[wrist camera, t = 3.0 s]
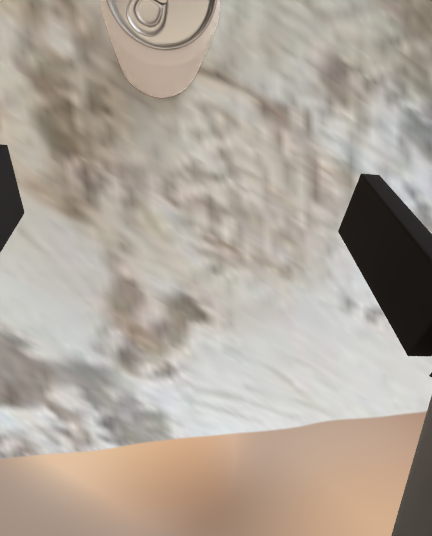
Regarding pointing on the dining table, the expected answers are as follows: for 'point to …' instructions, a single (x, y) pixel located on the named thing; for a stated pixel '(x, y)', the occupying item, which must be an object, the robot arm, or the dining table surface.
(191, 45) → the can
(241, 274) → the dining table surface
